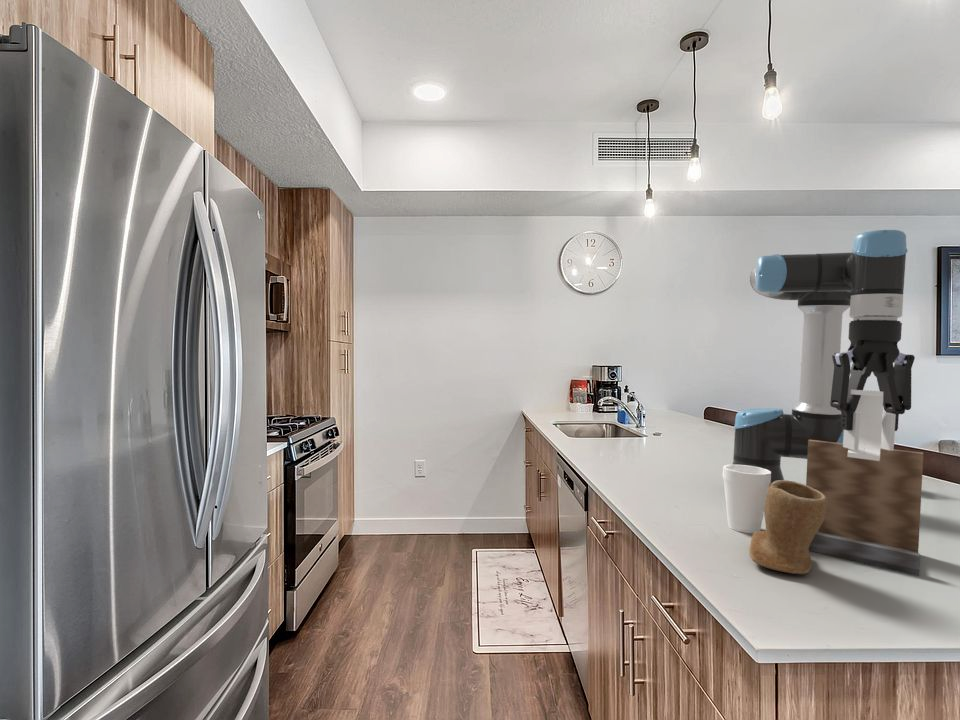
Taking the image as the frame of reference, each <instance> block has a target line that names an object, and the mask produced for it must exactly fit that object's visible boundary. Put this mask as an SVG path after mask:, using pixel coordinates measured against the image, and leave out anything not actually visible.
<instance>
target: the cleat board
mask: <svg viewBox="0 0 960 720" xmlns="http://www.w3.org/2000/svg"><path fill="white" fill-rule="evenodd" d="M848 449H849V448H845V447H843V443H835V442H826V441H818V440H808V455H807V459H806V476H805V477H806V479H805V485H807V486H809V487H812V488H813V489H815V490H818V491H820V492H821V493H822V494H824V495H825V497H826V498H827V503H828V504H827V509H826V515H825V519H824V521H823V523H822V524H821V526H820V528H819V530H818V531H817V533H816V534H815V536H814V538H813V540H812V542H811V544H810V546H809V549H808V550H809V552H812V553H817V554H822V555H827V556H831V557H836V558H839V559H843V560H848V561H852V562H856V563H860V564H861V563H862V564H866V565H870V566H875V567H879V568H883V569H888V570H893V571H897V572H902V573H904V574H909V575H915V576H920V570H921V569H920V568H921V553H919V545H920V544H919V543H920V527H921V526H920V525H921V509H922V508H921V507H922V505H921V504H922V489H923V487H922V485H923V470H924V469H923V468H924V467H923V466H924V452H921V451H913V450H903V449H895V448H894V451H889V450H886V449H882V448H881V449H880V461H875V460H868V459H860V458H852V457H847V454H848Z"/></svg>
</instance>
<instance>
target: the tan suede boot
mask: <svg viewBox="0 0 960 720" xmlns="http://www.w3.org/2000/svg"><path fill="white" fill-rule="evenodd" d="M827 504H828V503H827V498H826V497H825V495H824V494H822V493H821V492H820V491H818V490H815V489H813V488H812V487H809V486H807V485H806V484H804V483H802V482H801V483H800V482H797V481H793V480H787V479H784V480H777V481H774V482H773V483H771V485H770V486H769V488H768V491H767V495H766V501H765V507H764V514H763V516H764V520H765V521H764V522H765V530H760V531H759V532H755V533H752V536H751V539H750V545H749V548H748V549H749V551H748V552H749V557H750V559H751V561H752V562H754V563H755V564H757V565H759V566H760V567H764V568H767V569H770V570H773V571H777V572H782V573H787V574H797V575H805V574H808V573H809V572H810V569H811V568H812V557H811V554H810V551H809V550H808V549H809V546H810V544H811V542H812V540H813V538H814V536H815V534H816V533H817V531H818V530H819V528H820V526H821V524H822V523H823V521H824V519H825V515H826V509H827Z"/></svg>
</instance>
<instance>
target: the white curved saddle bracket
mask: <svg viewBox="0 0 960 720" xmlns="http://www.w3.org/2000/svg"><path fill="white" fill-rule="evenodd" d="M851 394H854V395H861V397H860V400H859V403H858V406H857V408H856V411H855V413H860V426H859V444H858V450H852V449H848V454H847V457H852V458H860V459H868V460H875V461H880V449H881V434H882V416H883V412H884V407H883V392H882V391H880V390H879V391H878V390H864V389H863V390H851Z"/></svg>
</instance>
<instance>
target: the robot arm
mask: <svg viewBox="0 0 960 720" xmlns="http://www.w3.org/2000/svg"><path fill="white" fill-rule="evenodd" d="M852 246H853V247H852V249H851V252H832V253H829V252H828V253H827V252H825V253H808V254H807V253H806V254H805V253H801V254H799V253H798V254H780V253H779V254H771V255H762V256H760V257H759V258H758V259H757V263H756V265H755V266H754V267H753V268H752V270H751V273H750V276H749V283H750V286H751V288H752V289H753V291H755V293H757V294H758V295H761V296H763V297H766V298H770V299H773V300H780V301H797V308H798V309H799V311H801V313H803V321H802V322H803V324H802V325H803V326H802V340H801V341H802V343H801V344H802V345H801V346H802V347H801V360H800V361H801V362H800V380H799V396H798V397H799V398H798V402H797V403H796V404H795V405H793V406H792V408H791V414H788V413H787V414H786V413H784V411H783V409H782V408H779V407H778V408H777V407H758V408H757V407H755V408H746V409H741V410H739V411H738V412H737V413H736V415H735V420H734V426H733V428H734V440H733V441H734V442H733V457H732V459H733V461H732V463H731V465H748V466H754V467H760V468H763V469H767V470H769V471H771V483H773V482H774V481H777V480H785V478H784V474H783V472H782V468H781V459H782V458H790V459H803V460H804V459H805V460H807V455H808V440H818V441H826V442H835V443H843V447H845V448H849V449H852V450H858V444H859V426H860V413H855V411H856V408H857V406H858V403H859V400H860V397H861V395H854V394H851V390H864V388H865V385H866V383H867V380H868V378H870V376H871V375H872V373H873V375H874V377H876V382H877V385H878V388H879V389H878V390H879V391H882V392H883V416H882V434H881V448H882V449H886V450H889V451H894V449H895V448H894V447H895V433H896V432H897V431H898V429H899V417H900V416H899V415H903V414H905V412H906V411H910V410H911V408H912V367H913V364H914V361H915V359H916V358H915V355H914V354H905V353H903V352H900V349H899V347H898V343H899V342H900V341H901V340H902V327H903V326H902V325H903V323H902V322H901V321H900V320H898V319H900V318H901V317H903V309H904V306H903V303H904V290H905V288H904V287H905V275H906V274H905V273H906V262H907V261H906V258H907V253H908V248H907V235H906V233H905V232H904V231H902V230H898V229H881V230H880V229H879V230H869V231H864V232H860V233H858V234H857V235H855V237H854V239H853V245H852ZM847 310H849V314H848V315H849V318H852V320H850V322H849V324H848V340H849V342H850V345H849V347H848V348H847V351H842V352H841V348H842V347H841V344H842V330H843V329H842V328H843V315H844V312H846V311H847ZM851 363H852V364H851ZM771 483H770V485H771ZM770 485H769V486H770Z"/></svg>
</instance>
